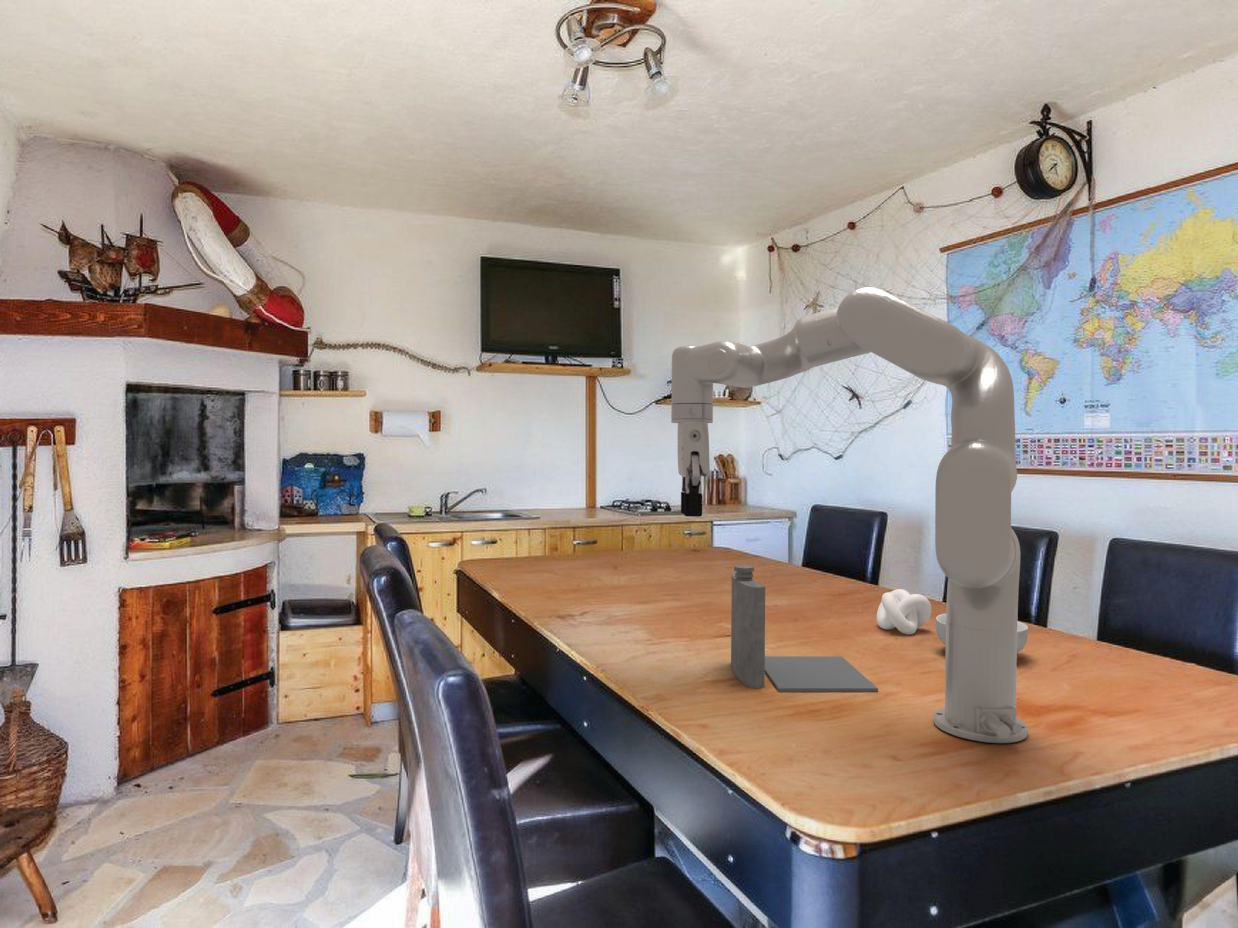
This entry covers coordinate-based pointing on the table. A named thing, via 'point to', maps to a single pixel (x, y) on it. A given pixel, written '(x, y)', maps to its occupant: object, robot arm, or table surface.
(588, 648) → the table surface
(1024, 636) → the cereal bowl
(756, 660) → the hip flask
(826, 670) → the mat
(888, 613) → the white decorative knot
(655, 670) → the table surface
